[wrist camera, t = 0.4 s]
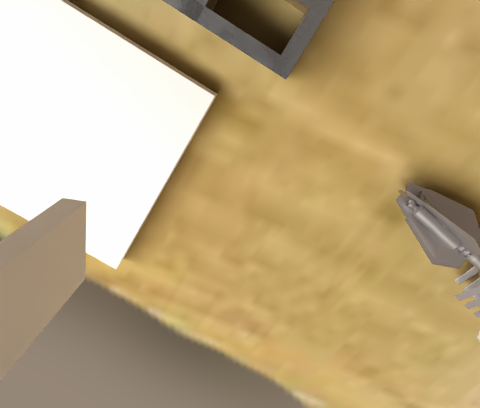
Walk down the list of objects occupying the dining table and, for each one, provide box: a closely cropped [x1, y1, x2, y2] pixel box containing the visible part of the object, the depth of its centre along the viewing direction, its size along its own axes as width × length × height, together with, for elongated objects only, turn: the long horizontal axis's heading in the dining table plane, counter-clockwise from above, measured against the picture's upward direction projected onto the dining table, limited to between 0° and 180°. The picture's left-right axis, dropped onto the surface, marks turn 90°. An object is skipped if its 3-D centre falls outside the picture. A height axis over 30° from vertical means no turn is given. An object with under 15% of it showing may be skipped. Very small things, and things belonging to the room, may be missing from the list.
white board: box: [0, 0, 218, 269], centre depth 37 cm, size 28×18×2 cm, turn 59°
